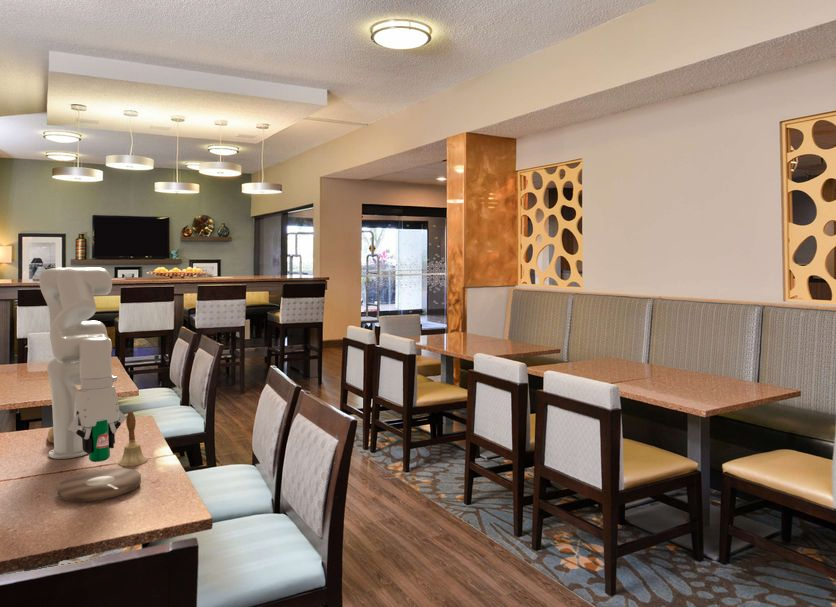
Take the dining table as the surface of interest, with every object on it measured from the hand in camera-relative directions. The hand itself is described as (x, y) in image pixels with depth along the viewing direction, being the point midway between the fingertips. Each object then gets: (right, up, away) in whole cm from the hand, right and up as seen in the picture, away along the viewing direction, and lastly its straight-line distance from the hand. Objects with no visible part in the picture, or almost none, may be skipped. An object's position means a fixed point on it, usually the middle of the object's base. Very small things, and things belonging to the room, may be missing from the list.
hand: (99, 449), depth 162 cm
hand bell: (-2, -10, +24) cm, 26 cm away
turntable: (0, -10, +1) cm, 10 cm away
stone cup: (-37, -8, +48) cm, 61 cm away
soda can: (0, -3, 0) cm, 3 cm away
